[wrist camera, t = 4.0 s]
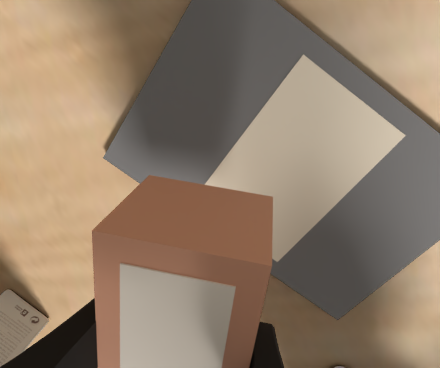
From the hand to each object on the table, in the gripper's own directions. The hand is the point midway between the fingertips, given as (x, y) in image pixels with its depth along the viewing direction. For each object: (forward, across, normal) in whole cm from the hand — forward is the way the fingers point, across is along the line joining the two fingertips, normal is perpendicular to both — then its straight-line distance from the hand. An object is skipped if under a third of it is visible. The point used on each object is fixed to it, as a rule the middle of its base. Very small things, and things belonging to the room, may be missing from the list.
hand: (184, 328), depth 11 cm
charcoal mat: (+9, -3, -3) cm, 10 cm away
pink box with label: (+2, 0, 0) cm, 2 cm away
